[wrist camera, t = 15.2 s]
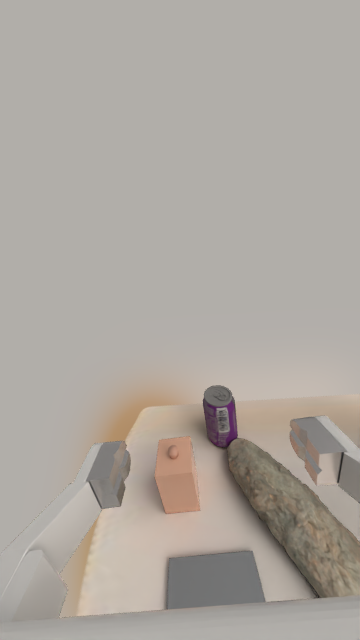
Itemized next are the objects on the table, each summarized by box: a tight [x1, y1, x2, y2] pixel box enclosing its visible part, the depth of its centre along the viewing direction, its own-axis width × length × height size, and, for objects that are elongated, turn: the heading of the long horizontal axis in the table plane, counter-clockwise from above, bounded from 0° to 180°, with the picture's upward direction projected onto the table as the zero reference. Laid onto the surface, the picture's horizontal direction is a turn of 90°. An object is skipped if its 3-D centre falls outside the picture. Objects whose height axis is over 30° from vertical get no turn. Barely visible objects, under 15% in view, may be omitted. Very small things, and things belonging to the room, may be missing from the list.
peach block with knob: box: [155, 436, 200, 514], centre depth 31 cm, size 6×6×11 cm
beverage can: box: [203, 386, 238, 447], centre depth 40 cm, size 7×7×12 cm
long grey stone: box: [227, 438, 360, 598], centre depth 22 cm, size 35×5×10 cm
